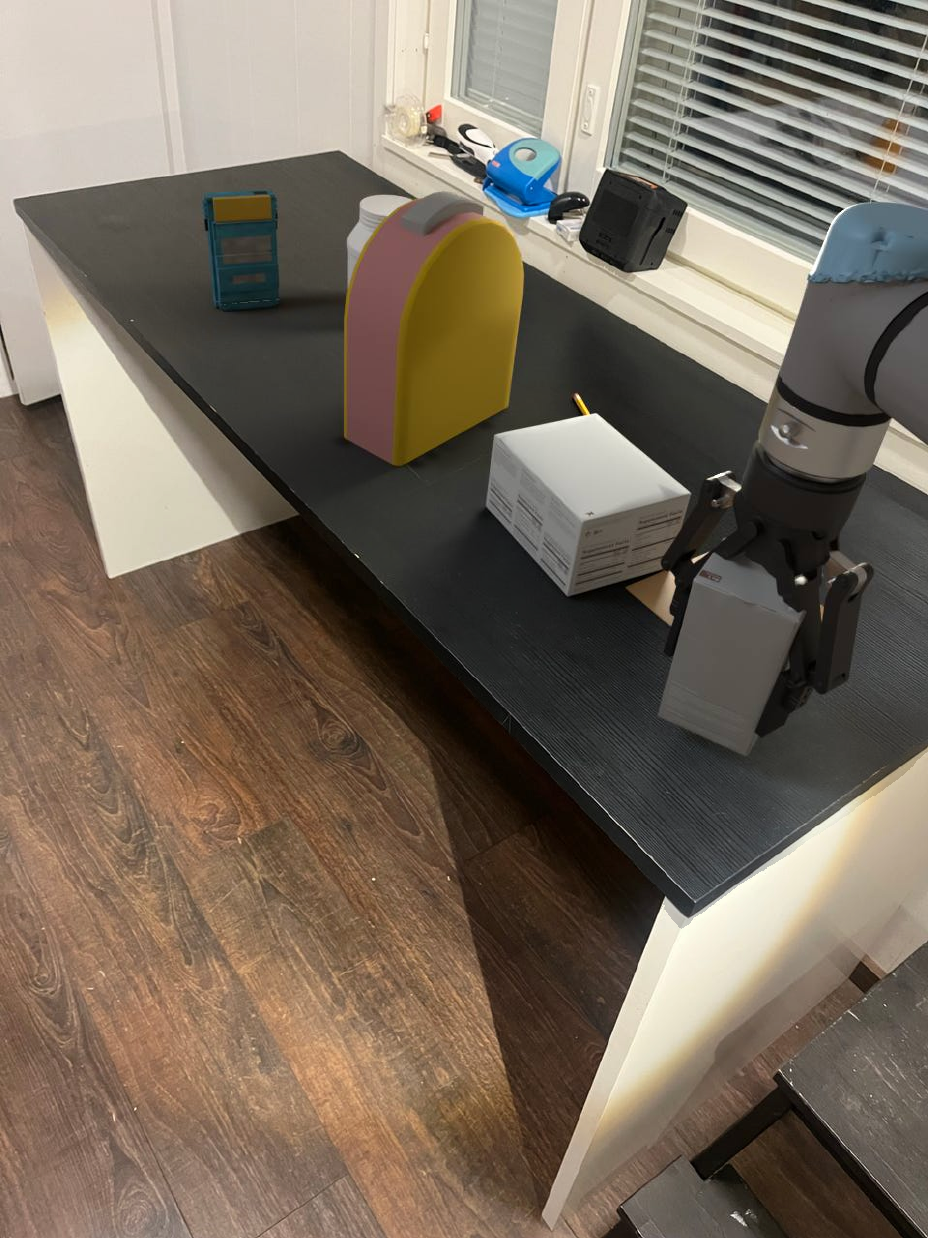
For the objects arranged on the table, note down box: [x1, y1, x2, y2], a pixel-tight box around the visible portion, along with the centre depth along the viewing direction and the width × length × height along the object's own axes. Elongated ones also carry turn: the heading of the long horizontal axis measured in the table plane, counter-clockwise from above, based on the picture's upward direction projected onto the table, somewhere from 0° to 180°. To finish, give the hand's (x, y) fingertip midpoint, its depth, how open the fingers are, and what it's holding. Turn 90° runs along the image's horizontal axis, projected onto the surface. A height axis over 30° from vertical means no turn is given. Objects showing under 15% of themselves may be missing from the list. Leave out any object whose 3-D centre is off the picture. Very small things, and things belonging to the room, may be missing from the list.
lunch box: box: [343, 190, 525, 467], centre depth 107 cm, size 21×9×26 cm, turn 140°
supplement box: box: [485, 413, 692, 597], centre depth 98 cm, size 17×13×9 cm
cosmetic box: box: [657, 537, 824, 757], centre depth 75 cm, size 8×7×16 cm
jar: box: [346, 194, 413, 288], centre depth 132 cm, size 12×10×15 cm
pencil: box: [572, 392, 590, 416], centre depth 119 cm, size 1×13×1 cm, turn 12°
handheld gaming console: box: [201, 189, 280, 312], centre depth 130 cm, size 10×4×15 cm, turn 113°
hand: (721, 687), depth 78 cm, fingers closed on cosmetic box, 10 cm apart
